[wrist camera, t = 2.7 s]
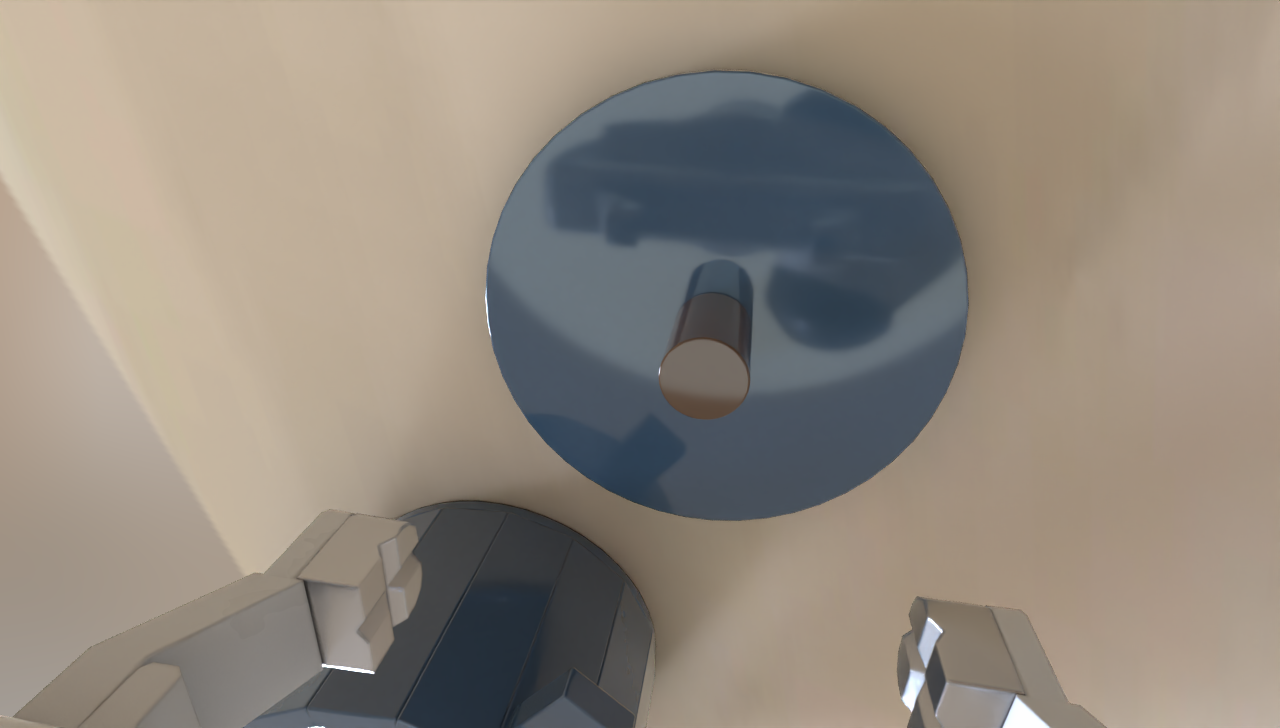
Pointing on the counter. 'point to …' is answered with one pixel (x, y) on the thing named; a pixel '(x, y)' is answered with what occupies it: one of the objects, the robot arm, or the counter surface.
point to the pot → (497, 636)
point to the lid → (727, 295)
